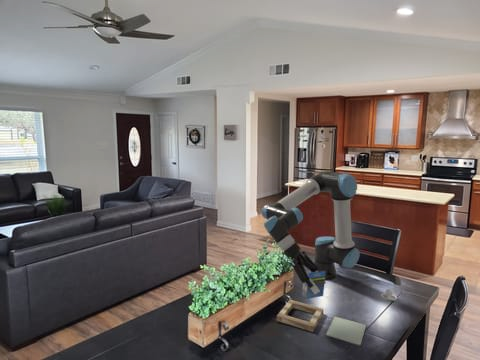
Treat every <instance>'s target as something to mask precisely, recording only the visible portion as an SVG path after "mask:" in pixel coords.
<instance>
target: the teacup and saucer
mask: <svg viewBox="0 0 480 360" xmlns="http://www.w3.org/2000/svg"><path fill="white" fill-rule="evenodd" d="M384 295H385V296H386V297H384ZM380 296H381V298H382V299H385V300H386V301H389V302H391V301H398V297H397V296H396V295H395V294H393V290H392V289H390V288H386V289H385V292H383V293H381V294H380Z"/></svg>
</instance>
